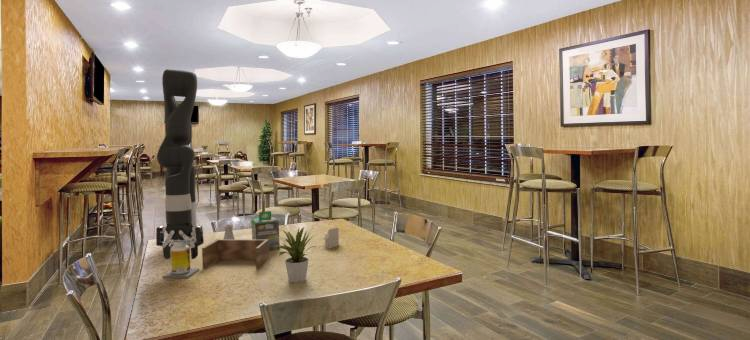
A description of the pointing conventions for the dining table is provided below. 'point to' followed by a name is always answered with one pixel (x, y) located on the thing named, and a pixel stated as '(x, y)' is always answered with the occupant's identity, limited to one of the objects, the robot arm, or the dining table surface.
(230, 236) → the flask
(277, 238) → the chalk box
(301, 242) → the house plant
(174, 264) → the supplement bottle
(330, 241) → the architectural model
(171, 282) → the dining table surface
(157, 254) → the dining table surface
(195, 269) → the grey pad
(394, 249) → the dining table surface
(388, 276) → the dining table surface
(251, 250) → the walnut box
